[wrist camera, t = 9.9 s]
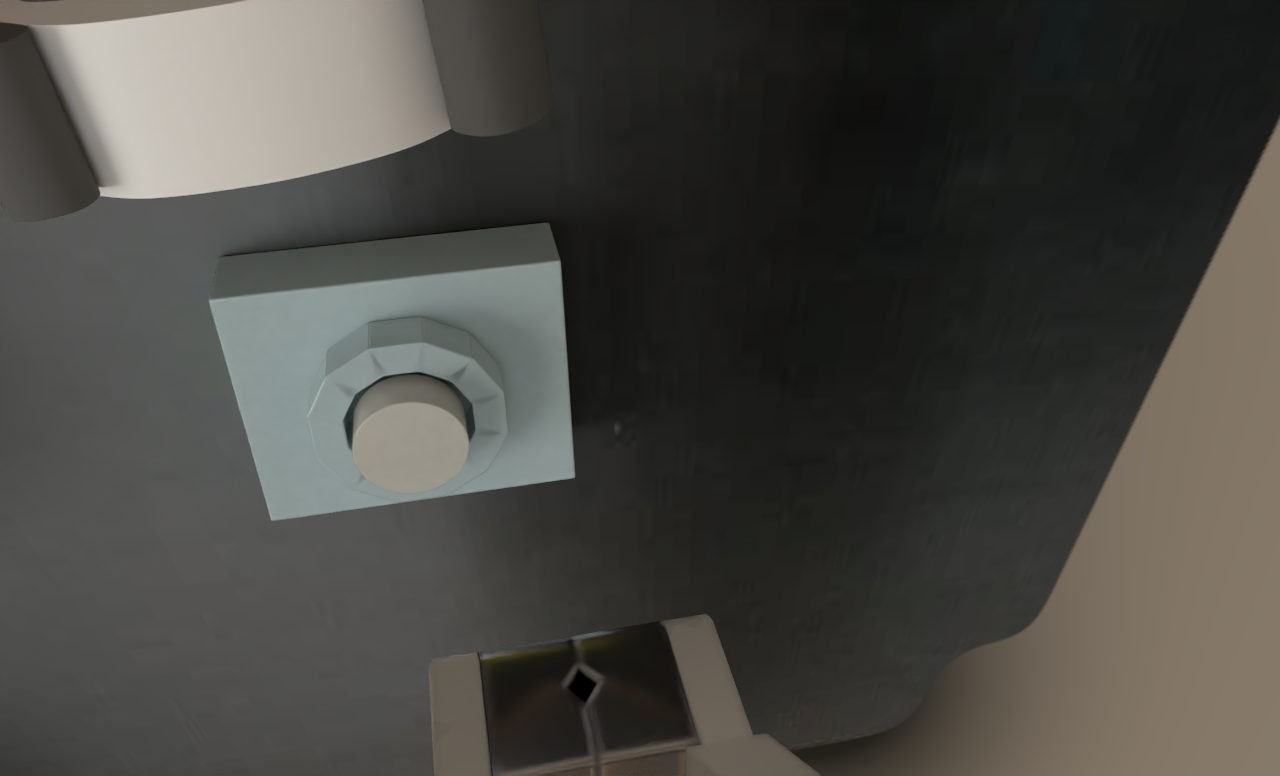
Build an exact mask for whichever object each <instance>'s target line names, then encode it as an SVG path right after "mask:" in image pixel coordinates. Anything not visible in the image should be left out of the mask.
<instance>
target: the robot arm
mask: <svg viewBox="0 0 1280 776" xmlns="http://www.w3.org/2000/svg"><path fill="white" fill-rule="evenodd" d="M480 661H481V663H480ZM429 684H430V703H431V721H432V739H433V757H434V776H821V775H820V774H819V773H817V772H816V771H815V770H814V769H812V768H811V767H810V766H808V765H807V764H806V763H804V762H803V761H802V760H801V759H799V758H798V757H797V756H795V755H794V754H793V753H791V752H790V751H789V750H788V749H786V748H785V747H784V746H783V745H781V744H780V743H779V742H777V741H776V740H775V739H774V738H772V737H771V736H770V735H768V734H767V733H763V734H757V735H753V734H752V731H751V728H750V725H749V722H748V719H747V717H746V714H745V711H744V708H743V705H742V702H741V700H740V697H739V694H738V691H737V688H736V685H735V683H734V680H733V677H732V674H731V671H730V668H729V666H728V663H727V660H726V657H725V654H724V651H723V649H722V646H721V643H720V640H719V637H718V634H717V631H716V629H715V626H714V623H713V620H712V619H711V618H710V617H709V616H708V615H707V614H702V615H697V616H691V617H685V618H679V619H673V620H667V621H662V623H660V622H659V621H658V622H652V623H647V624H641V625H635V626H630V627H624V628H618V629H613V630H607V631H602V632H596V633H590V634H585V635H579V636H573V637H571V638H569V639H562V640H555V641H548V642H541V643H533V644H526V645H519V646H512V647H505V648H498V649H490V650H483V651H480V656H479V652H473V653H466V654H460V655H453V656H446V657H439V658H432V659H431V660H430V667H429Z"/></svg>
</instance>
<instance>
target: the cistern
mask: <svg viewBox="0 0 1280 776" xmlns="http://www.w3.org/2000/svg"><path fill="white" fill-rule="evenodd" d="M209 305H210V308H211V312H212V315H213V319H214V322H215V326H216V329H217V333H218V336H219V340H220V343H221V347H222V350H223V354H224V357H225V361H226V364H227V368H228V371H229V375H230V378H231V382H232V385H233V389H234V392H235V396H236V399H237V403H238V406H239V410H240V413H241V417H242V420H243V424H244V427H245V431H246V434H247V438H248V441H249V445H250V448H251V452H252V455H253V459H254V462H255V466H256V469H257V473H258V476H259V480H260V483H261V487H262V490H263V494H264V497H265V501H266V504H267V508H268V511H269V515H270V518H271V520H272V521H276V520H283V519H290V518H297V517H304V516H311V515H318V514H325V513H332V512H339V511H346V510H353V509H360V508H367V507H374V506H381V505H388V504H395V503H402V502H409V501H416V500H423V499H430V498H437V497H444V496H451V495H458V494H465V493H472V492H479V491H486V490H493V489H500V488H507V487H514V486H521V485H528V484H535V483H542V482H549V481H556V480H563V479H570V478H575V463H574V448H573V433H572V418H571V403H570V388H569V373H568V358H567V343H566V328H565V313H564V298H563V283H562V268H561V260H560V257H559V253H558V250H557V247H556V243H555V240H554V237H553V233H552V230H551V227H550V224H549V223H538V224H528V225H519V226H509V227H500V228H490V229H481V230H471V231H462V232H452V233H443V234H433V235H424V236H414V237H405V238H395V239H386V240H376V241H367V242H357V243H348V244H339V245H329V246H320V247H310V248H301V249H291V250H282V251H272V252H263V253H253V254H244V255H234V256H225V257H220V258H219V260H218V264H217V268H216V273H215V277H214V281H213V285H212V289H211V293H210V297H209ZM408 374H414V375H423V376H428V377H432V378H434V379H437V380H439V381H441V382H443V383H445V384H446V385H448V386H449V387H450V388H452V389H453V390H454V391H455V392H456V393H457V395H458V396H459V397H460V399H461V401H462V402H463V405H464V407H465V411H466V418H467V426H468V435H469V446H470V447H469V454H468V457H467V460H466V462H465V464H464V466H463V467H462V469H461V470H460V471H459V473H458V474H457V475H456V476H455V477H454V478H452V479H451V480H450V481H448V482H447V483H445V484H444V485H442V486H440V487H437V488H435V489H432V490H429V491H425V492H420V493H398V492H393V491H389V490H386V489H383V488H381V487H378V486H376V485H375V484H373V483H372V482H370V481H369V480H368V479H366V478H365V477H364V476H363V475H362V473H361V472H360V471H359V469H358V468H357V466H356V464H355V462H354V458H353V453H352V435H353V414H354V410H355V407H356V405H357V403H358V401H359V400H360V398H361V397H362V396H363V394H364V393H365V392H366V391H367V390H368V389H370V388H371V387H372V386H374V385H375V384H377V383H379V382H380V381H383V380H385V379H387V378H391V377H394V376H399V375H408Z"/></svg>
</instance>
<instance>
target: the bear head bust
mask: <svg viewBox="0 0 1280 776" xmlns="http://www.w3.org/2000/svg"><path fill="white" fill-rule="evenodd" d="M553 103H554V98H553V91H552V85H551V79H550V73H549V67H548V61H547V54H546V48H545V42H544V36H543V30H542V24H541V17H540V11H539V5H538V0H0V202H1V204H2V206H3V208H4V210H5V212H6V214H7V216H8V218H9V219H11V220H13V221H17V222H32V221H40V220H46V219H50V218H55V217H59V216H63V215H67V214H70V213H73V212H76V211H78V210H81V209H83V208H85V207H87V206H88V205H90V204H91V203H93V202H94V201H95V200H97V198H98V197H99V196H106V197H116V198H162V197H174V196H184V195H192V194H200V193H208V192H215V191H222V190H229V189H236V188H242V187H248V186H255V185H261V184H266V183H272V182H277V181H283V180H288V179H293V178H297V177H302V176H307V175H311V174H316V173H320V172H324V171H328V170H332V169H337V168H341V167H345V166H348V165H352V164H356V163H360V162H364V161H367V160H371V159H374V158H378V157H381V156H385V155H388V154H391V153H394V152H397V151H400V150H403V149H406V148H409V147H412V146H414V145H417V144H419V143H422V142H424V141H426V140H429V139H431V138H433V137H435V136H437V135H439V134H441V133H443V132H445V131H447V130H449V129H451V128H452V129H453V130H454V131H456V132H458V133H461V134H466V135H472V136H496V135H502V134H507V133H511V132H514V131H517V130H520V129H523V128H525V127H528V126H530V125H532V124H534V123H536V122H538V121H540V120H541V119H543V118H544V117H545V116H546V115H547V114H548V113H549V112H550V111H551V109H552V107H553Z"/></svg>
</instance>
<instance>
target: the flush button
mask: <svg viewBox="0 0 1280 776" xmlns="http://www.w3.org/2000/svg"><path fill="white" fill-rule="evenodd" d="M469 447H470V446H469V435H468V426H467V418H466V411H465V407H464V405H463V402H462V401H461V399H460V397H459V396H458V395H457V393H456V392H455V391H454V390H453V389H452V388H450V387H449V386H448V385H446V384H445V383H443V382H441V381H439V380H437V379H434V378H432V377H428V376H423V375H414V374H408V375H399V376H394V377H391V378H387V379H385V380H383V381H380V382H379V383H377V384H375V385H374V386H372V387H371V388H370V389H368V390H367V391H366V392H365V393H364V394H363V396H362V397H361V398H360V400H359V401H358V403H357V405H356V407H355V410H354V414H353V435H352V453H353V458H354V462H355V464H356V466H357V468H358V469H359V471H360V472H361V473H362V475H363V476H364V477H365V478H366V479H368V480H369V481H370V482H372V483H373V484H375V485H376V486H378V487H381V488H383V489H386V490H389V491H393V492H398V493H420V492H425V491H429V490H432V489H435V488H437V487H440V486H442V485H444V484H445V483H447V482H448V481H450V480H451V479H452V478H454V477H455V476H456V475H457V474H458V473H459V471H460V470H461V469H462V467H463V466H464V464H465V462H466V460H467V457H468V454H469Z"/></svg>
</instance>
